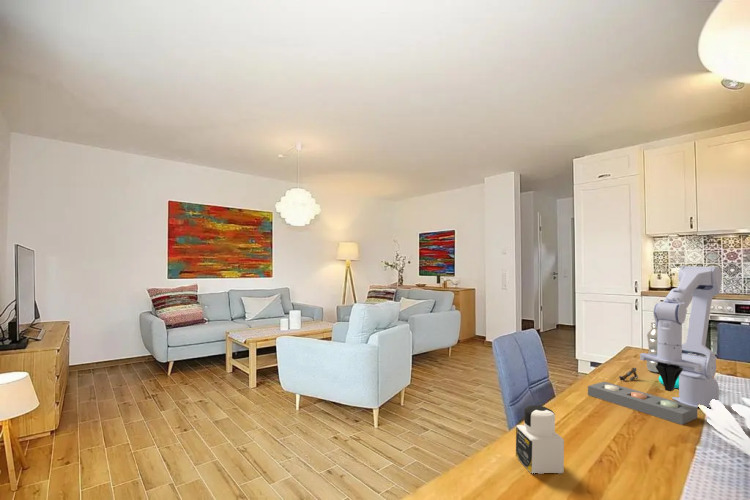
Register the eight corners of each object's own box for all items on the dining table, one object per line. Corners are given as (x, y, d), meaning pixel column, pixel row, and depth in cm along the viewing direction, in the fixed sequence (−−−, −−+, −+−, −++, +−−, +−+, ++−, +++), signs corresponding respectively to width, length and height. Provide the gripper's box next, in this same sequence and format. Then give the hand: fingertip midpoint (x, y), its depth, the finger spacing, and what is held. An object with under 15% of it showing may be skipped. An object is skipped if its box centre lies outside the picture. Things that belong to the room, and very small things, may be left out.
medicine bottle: (515, 456, 85) (516, 402, 85) (545, 456, 86) (546, 402, 86) (530, 474, 78) (531, 415, 78) (564, 474, 79) (565, 415, 79)
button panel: (697, 417, 110) (697, 407, 110) (682, 424, 105) (682, 413, 105) (604, 390, 132) (604, 381, 132) (587, 394, 127) (587, 385, 127)
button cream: (621, 395, 124) (621, 387, 125) (614, 397, 122) (615, 389, 122) (608, 391, 128) (608, 383, 128) (602, 393, 126) (602, 385, 126)
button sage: (680, 413, 111) (680, 403, 111) (674, 415, 109) (674, 406, 109) (664, 408, 114) (664, 399, 114) (657, 410, 112) (657, 401, 112)
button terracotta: (649, 403, 118) (649, 395, 118) (642, 406, 116) (642, 397, 116) (634, 399, 121) (634, 391, 121) (628, 401, 119) (628, 393, 119)
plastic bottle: (662, 370, 159) (662, 322, 159) (669, 375, 152) (669, 325, 153) (644, 369, 161) (644, 321, 161) (649, 373, 154) (650, 323, 155)
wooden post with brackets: (641, 377, 145) (637, 367, 145) (626, 387, 143) (623, 377, 143) (636, 376, 147) (633, 365, 147) (622, 386, 145) (618, 375, 144)
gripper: (635, 340, 116) (635, 385, 116) (694, 350, 104) (694, 400, 103) (646, 338, 120) (646, 381, 119) (704, 347, 107) (704, 396, 107)
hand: (669, 390), depth 112 cm, fingers closed
